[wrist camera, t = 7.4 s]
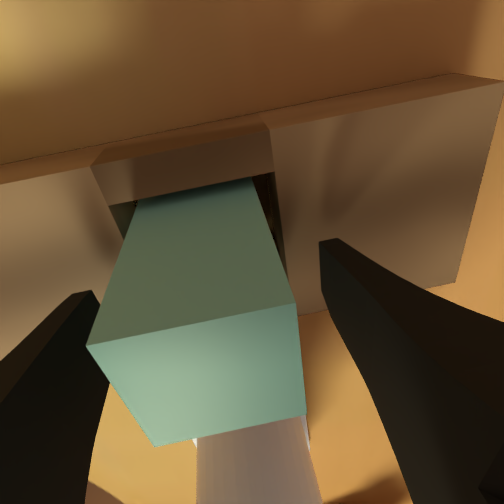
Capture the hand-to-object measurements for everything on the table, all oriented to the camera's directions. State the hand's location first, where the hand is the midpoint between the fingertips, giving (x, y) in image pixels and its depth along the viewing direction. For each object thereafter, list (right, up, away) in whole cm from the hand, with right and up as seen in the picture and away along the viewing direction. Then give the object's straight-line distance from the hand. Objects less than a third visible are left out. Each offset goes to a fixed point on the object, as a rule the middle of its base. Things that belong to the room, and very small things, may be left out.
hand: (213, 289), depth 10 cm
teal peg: (-1, +3, +3) cm, 4 cm away
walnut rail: (-1, +2, +3) cm, 4 cm away
